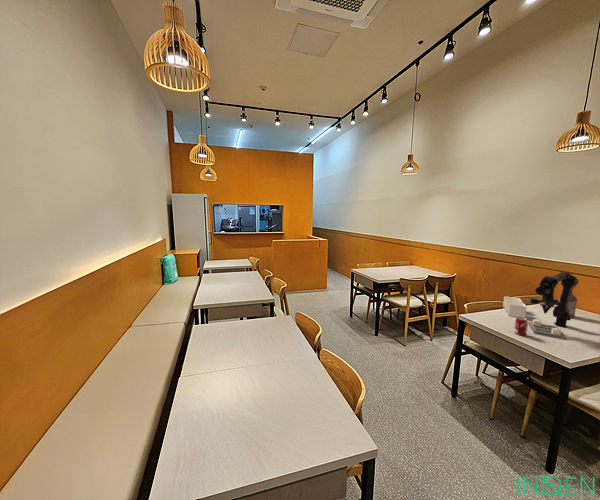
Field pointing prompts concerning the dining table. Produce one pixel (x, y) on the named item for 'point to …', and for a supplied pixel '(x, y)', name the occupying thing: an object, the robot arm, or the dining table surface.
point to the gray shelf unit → (545, 330)
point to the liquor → (571, 304)
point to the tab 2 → (556, 331)
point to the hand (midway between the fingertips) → (545, 313)
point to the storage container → (514, 307)
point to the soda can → (521, 326)
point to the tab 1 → (536, 322)
